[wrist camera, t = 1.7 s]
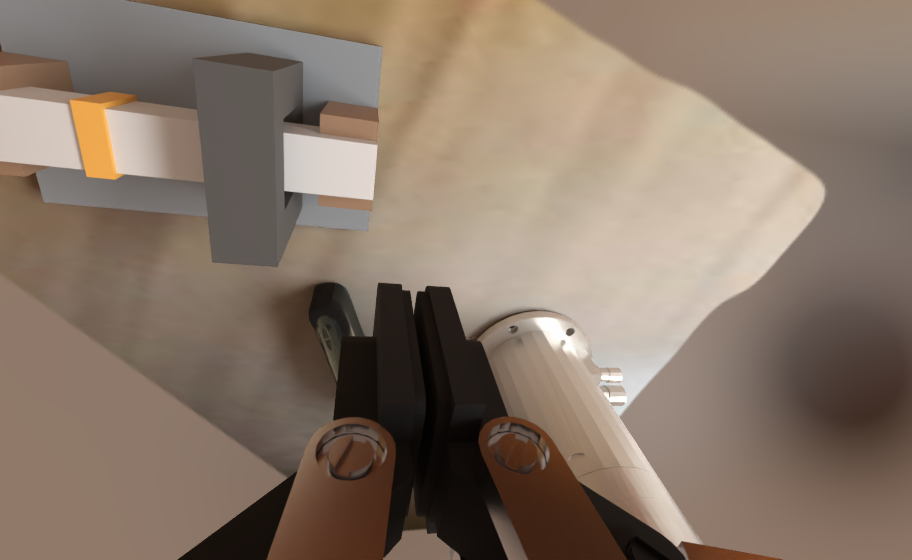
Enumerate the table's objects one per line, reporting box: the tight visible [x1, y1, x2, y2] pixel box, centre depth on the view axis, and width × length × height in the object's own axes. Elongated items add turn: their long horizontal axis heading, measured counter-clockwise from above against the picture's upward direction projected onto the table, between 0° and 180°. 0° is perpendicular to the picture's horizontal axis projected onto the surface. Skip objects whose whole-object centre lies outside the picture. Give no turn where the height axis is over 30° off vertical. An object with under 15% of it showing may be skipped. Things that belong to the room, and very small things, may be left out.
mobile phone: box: [309, 283, 364, 385], centre depth 37 cm, size 5×3×15 cm
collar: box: [192, 53, 303, 267], centre depth 24 cm, size 3×9×9 cm, turn 170°
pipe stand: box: [0, 0, 382, 231], centre depth 25 cm, size 20×12×8 cm, turn 80°
